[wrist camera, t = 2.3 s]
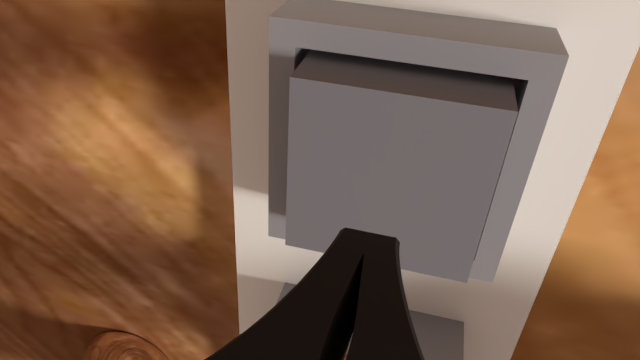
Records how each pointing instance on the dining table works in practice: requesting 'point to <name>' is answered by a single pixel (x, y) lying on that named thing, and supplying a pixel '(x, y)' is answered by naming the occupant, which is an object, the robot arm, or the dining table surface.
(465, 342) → the button panel
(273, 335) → the robot arm
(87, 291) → the dining table surface
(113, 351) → the beer glass
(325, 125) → the charcoal key
